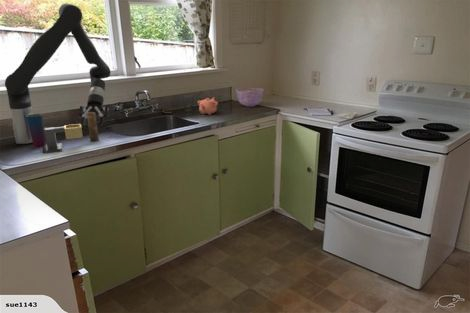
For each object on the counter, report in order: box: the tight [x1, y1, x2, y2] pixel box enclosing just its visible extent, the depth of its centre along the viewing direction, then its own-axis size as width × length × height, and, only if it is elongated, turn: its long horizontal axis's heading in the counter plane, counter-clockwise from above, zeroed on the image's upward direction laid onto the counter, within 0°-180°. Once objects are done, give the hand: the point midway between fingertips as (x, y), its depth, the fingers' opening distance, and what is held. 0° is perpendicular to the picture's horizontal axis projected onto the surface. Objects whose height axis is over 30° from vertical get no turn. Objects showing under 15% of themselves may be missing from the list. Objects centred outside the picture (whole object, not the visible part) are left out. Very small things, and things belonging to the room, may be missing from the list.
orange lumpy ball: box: [197, 96, 219, 116], centre depth 247 cm, size 14×12×10 cm
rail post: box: [86, 112, 100, 142], centre depth 189 cm, size 4×4×14 cm
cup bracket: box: [42, 123, 84, 154], centre depth 177 cm, size 18×10×10 cm, turn 113°
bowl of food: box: [235, 87, 265, 108], centre depth 271 cm, size 20×20×12 cm
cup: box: [26, 113, 46, 148], centre depth 180 cm, size 7×7×15 cm
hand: (92, 124), depth 188 cm, fingers open, 8 cm apart
